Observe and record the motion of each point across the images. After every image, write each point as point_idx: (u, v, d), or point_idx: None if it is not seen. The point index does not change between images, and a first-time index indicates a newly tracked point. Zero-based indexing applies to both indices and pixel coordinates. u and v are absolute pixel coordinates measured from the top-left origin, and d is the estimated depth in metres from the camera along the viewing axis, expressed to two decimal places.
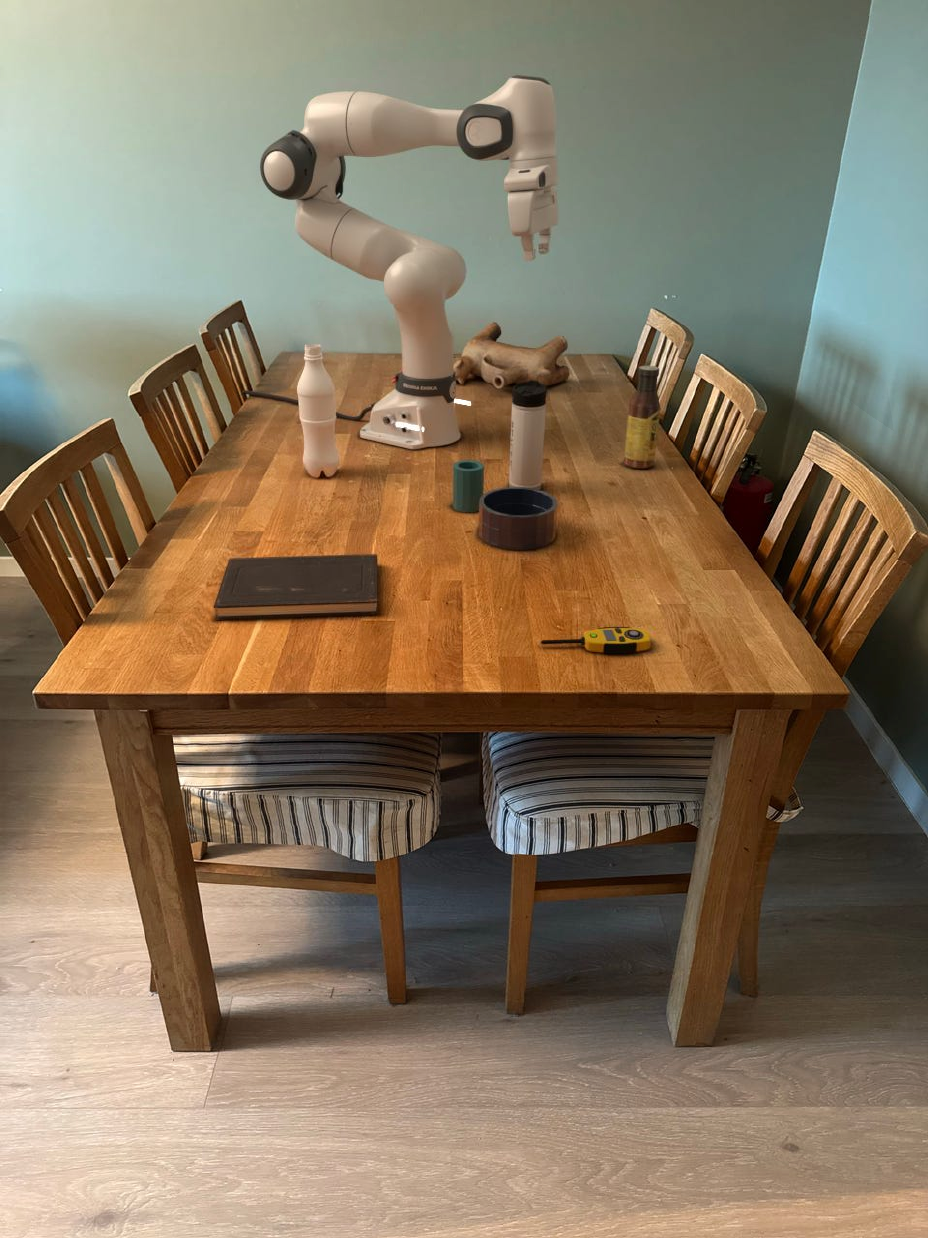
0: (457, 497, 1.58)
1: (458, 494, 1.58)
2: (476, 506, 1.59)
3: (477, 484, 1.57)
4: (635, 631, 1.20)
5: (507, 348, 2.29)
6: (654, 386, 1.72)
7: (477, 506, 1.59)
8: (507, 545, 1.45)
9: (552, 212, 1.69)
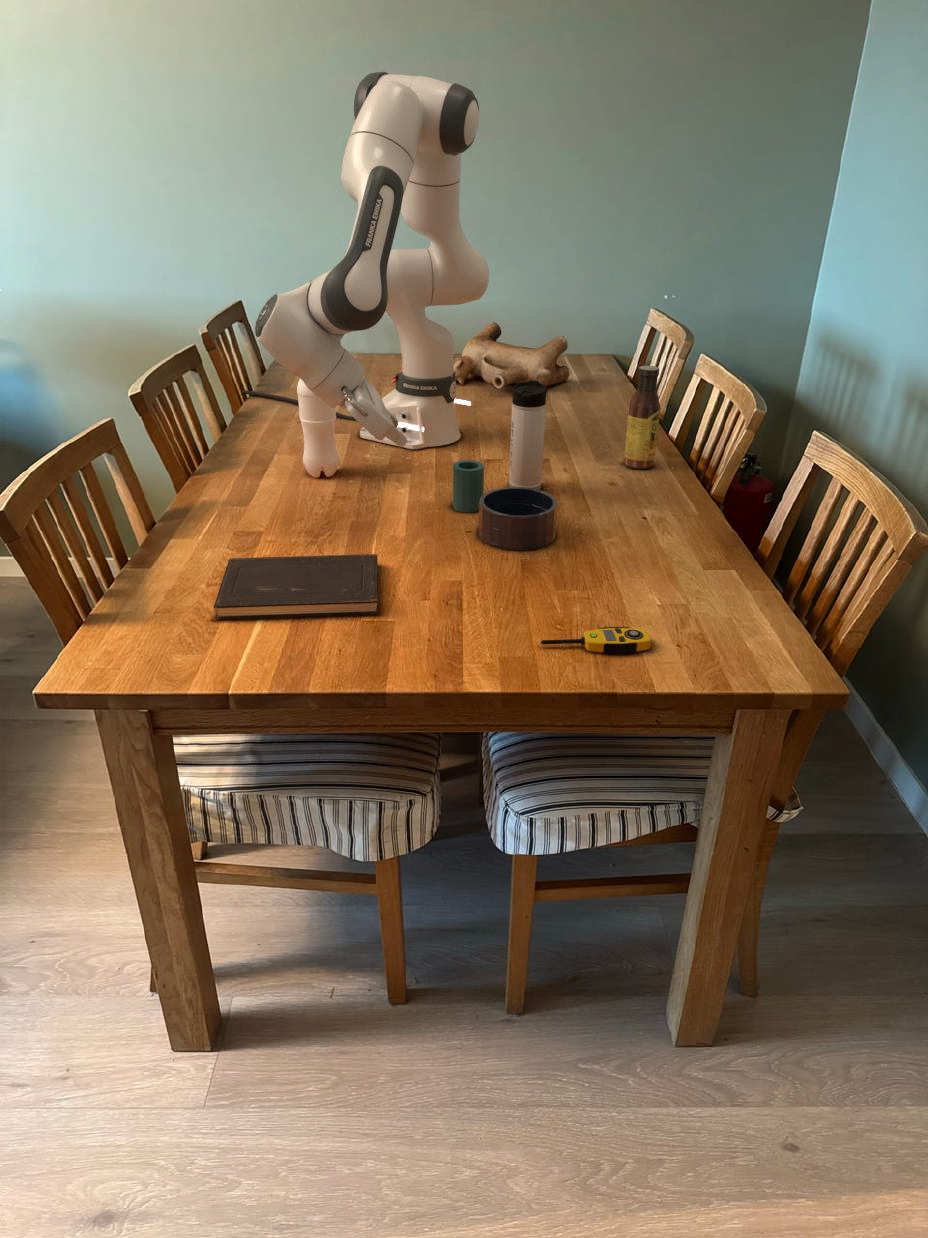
0: (457, 497, 1.58)
1: (458, 494, 1.58)
2: (476, 506, 1.59)
3: (477, 484, 1.57)
4: (635, 631, 1.20)
5: (507, 348, 2.29)
6: (654, 386, 1.72)
7: (477, 506, 1.59)
8: (507, 545, 1.45)
9: None
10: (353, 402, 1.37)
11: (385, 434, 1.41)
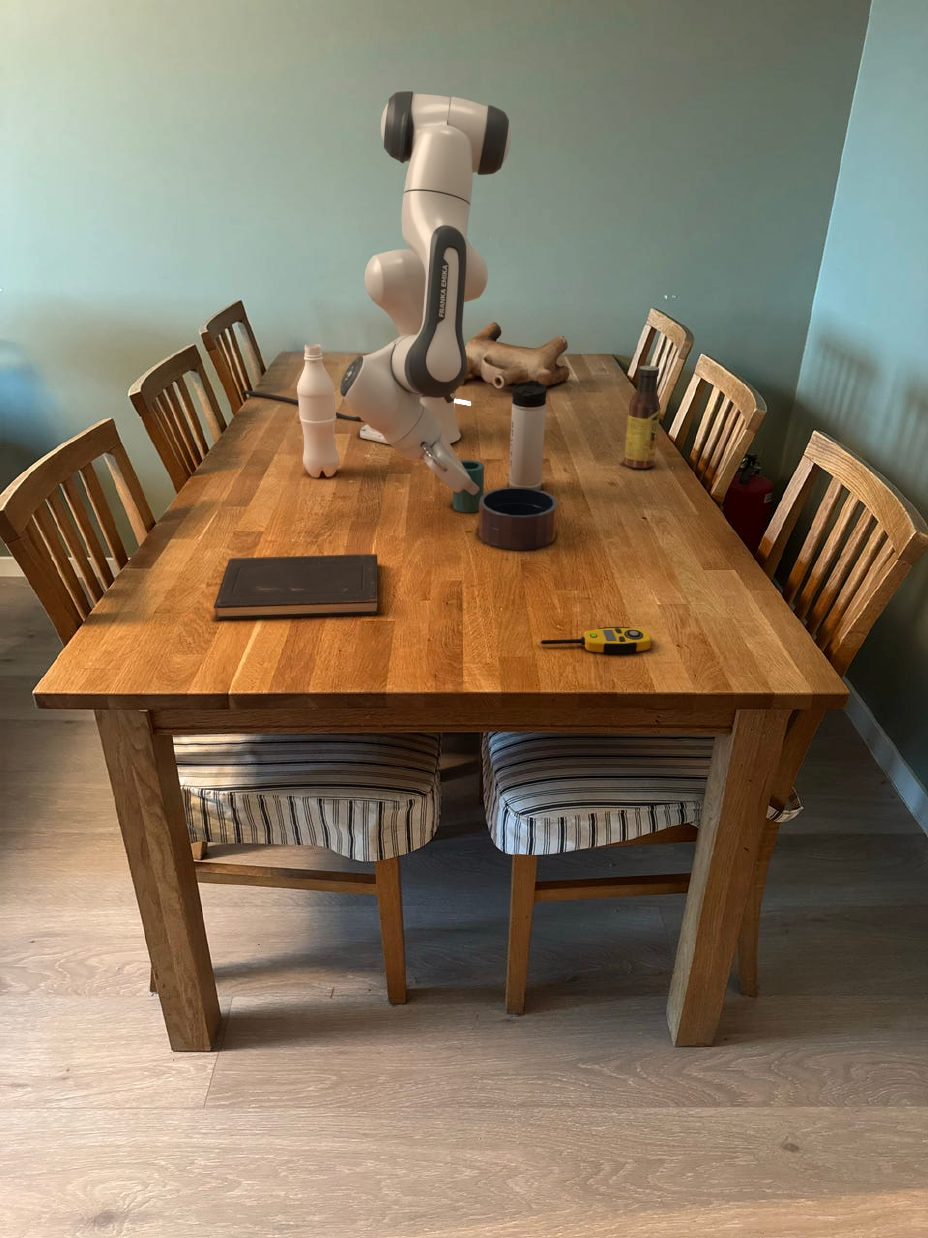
0: (457, 497, 1.58)
1: (458, 494, 1.58)
2: (476, 506, 1.59)
3: (477, 484, 1.57)
4: (635, 631, 1.20)
5: (507, 348, 2.29)
6: (654, 386, 1.72)
7: (477, 506, 1.59)
8: (507, 545, 1.45)
9: None
10: (434, 458, 1.45)
11: (462, 487, 1.49)
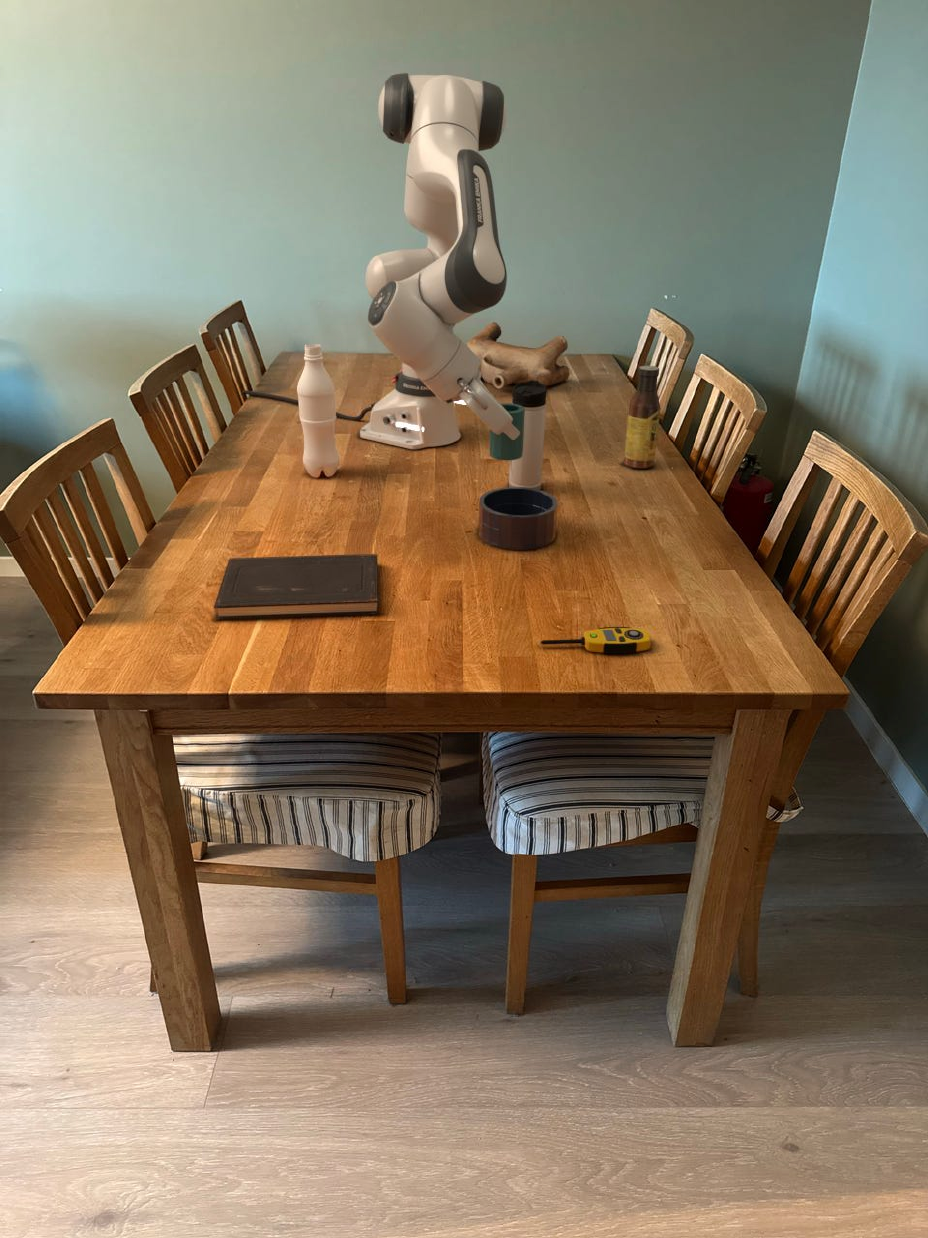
0: (495, 443, 1.44)
1: (496, 440, 1.44)
2: (516, 453, 1.45)
3: (517, 428, 1.43)
4: (635, 631, 1.20)
5: (507, 348, 2.29)
6: (654, 386, 1.72)
7: (517, 453, 1.45)
8: (507, 545, 1.45)
9: None
10: (474, 394, 1.30)
11: (504, 428, 1.34)
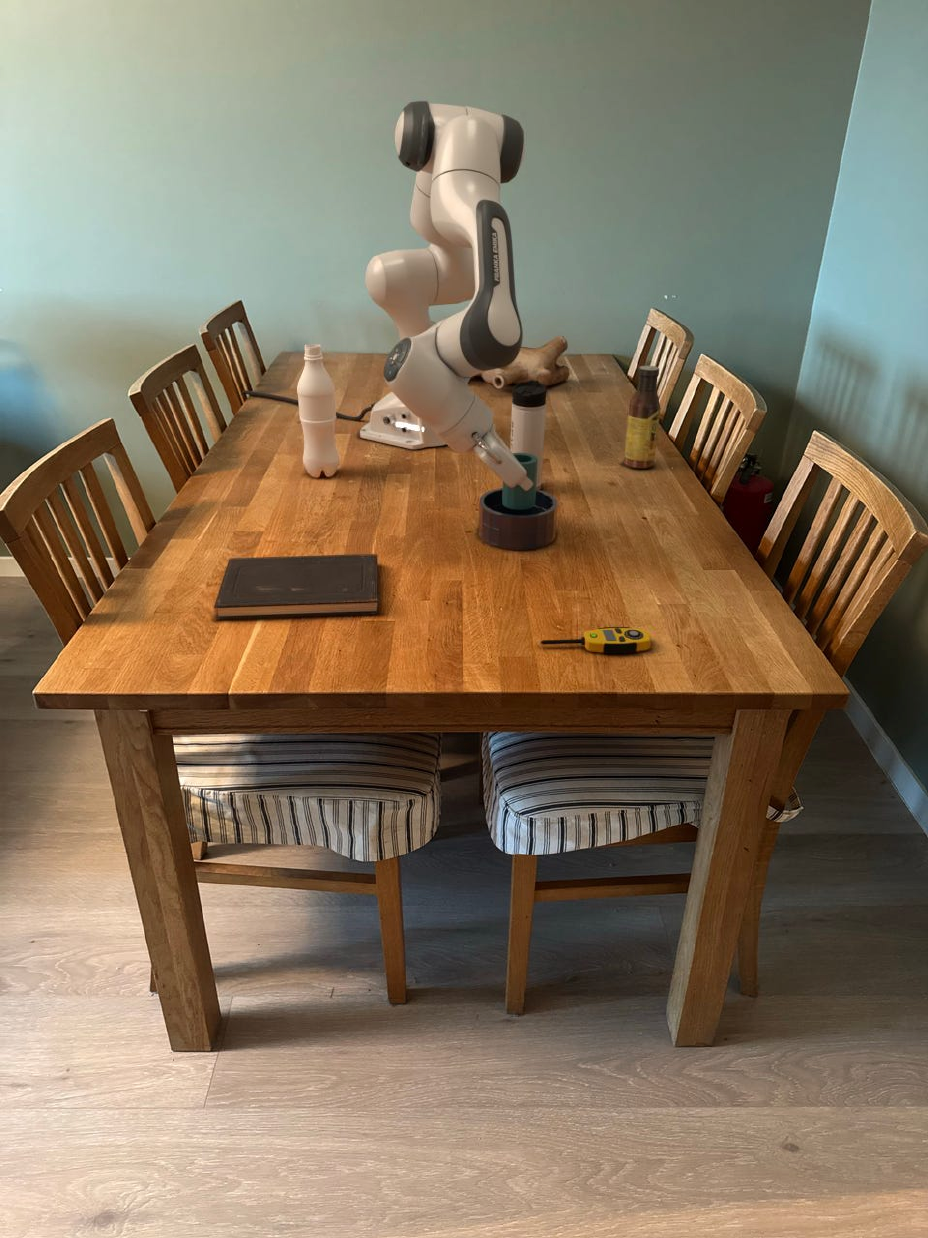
0: (508, 493, 1.45)
1: (509, 490, 1.45)
2: (529, 502, 1.46)
3: (530, 479, 1.44)
4: (635, 631, 1.20)
5: None
6: (654, 386, 1.72)
7: (529, 503, 1.46)
8: (507, 545, 1.45)
9: None
10: (488, 450, 1.32)
11: (517, 482, 1.36)
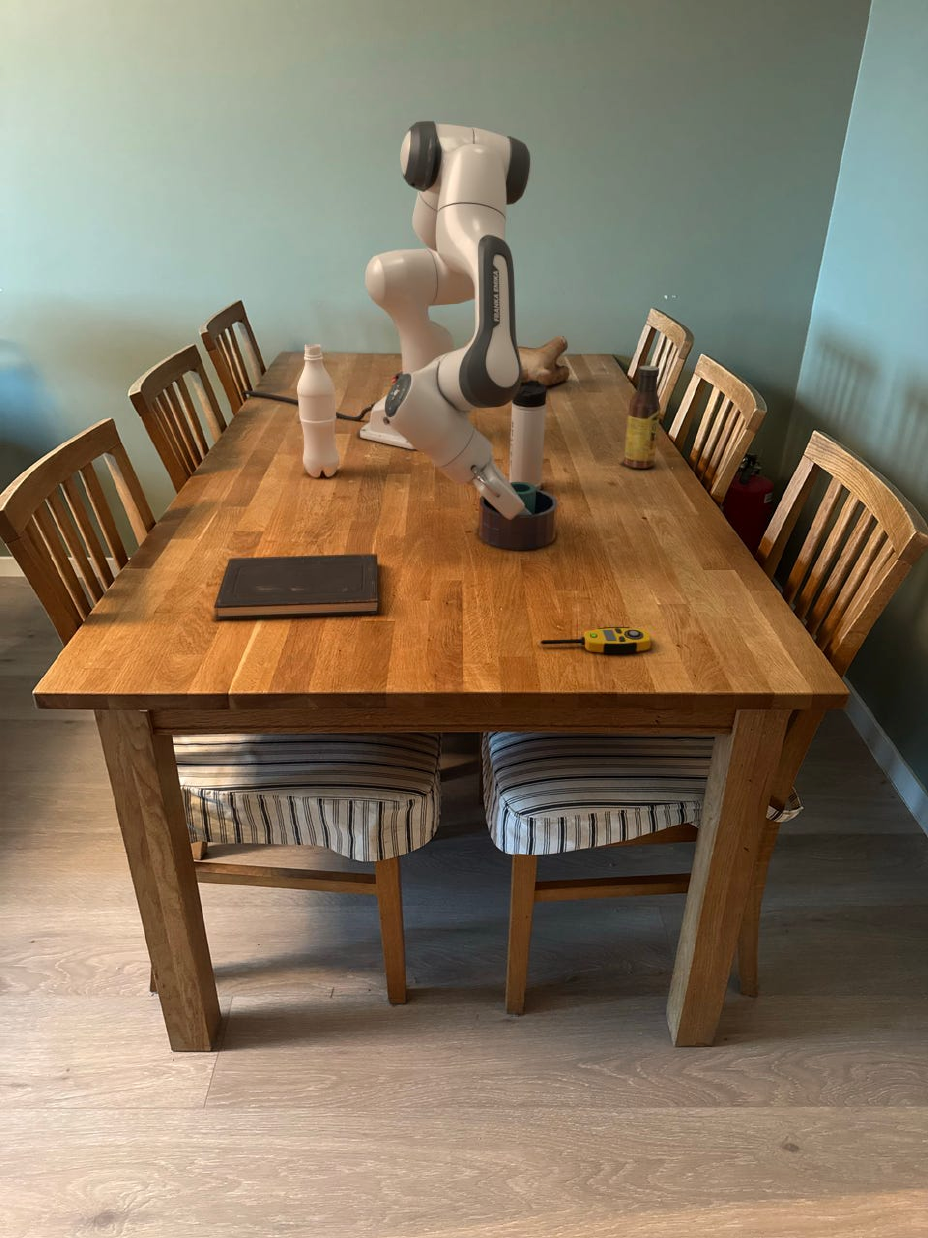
0: None
1: None
2: None
3: (529, 508, 1.46)
4: (635, 631, 1.20)
5: None
6: (654, 386, 1.72)
7: None
8: (507, 545, 1.45)
9: None
10: (487, 484, 1.34)
11: (516, 514, 1.38)
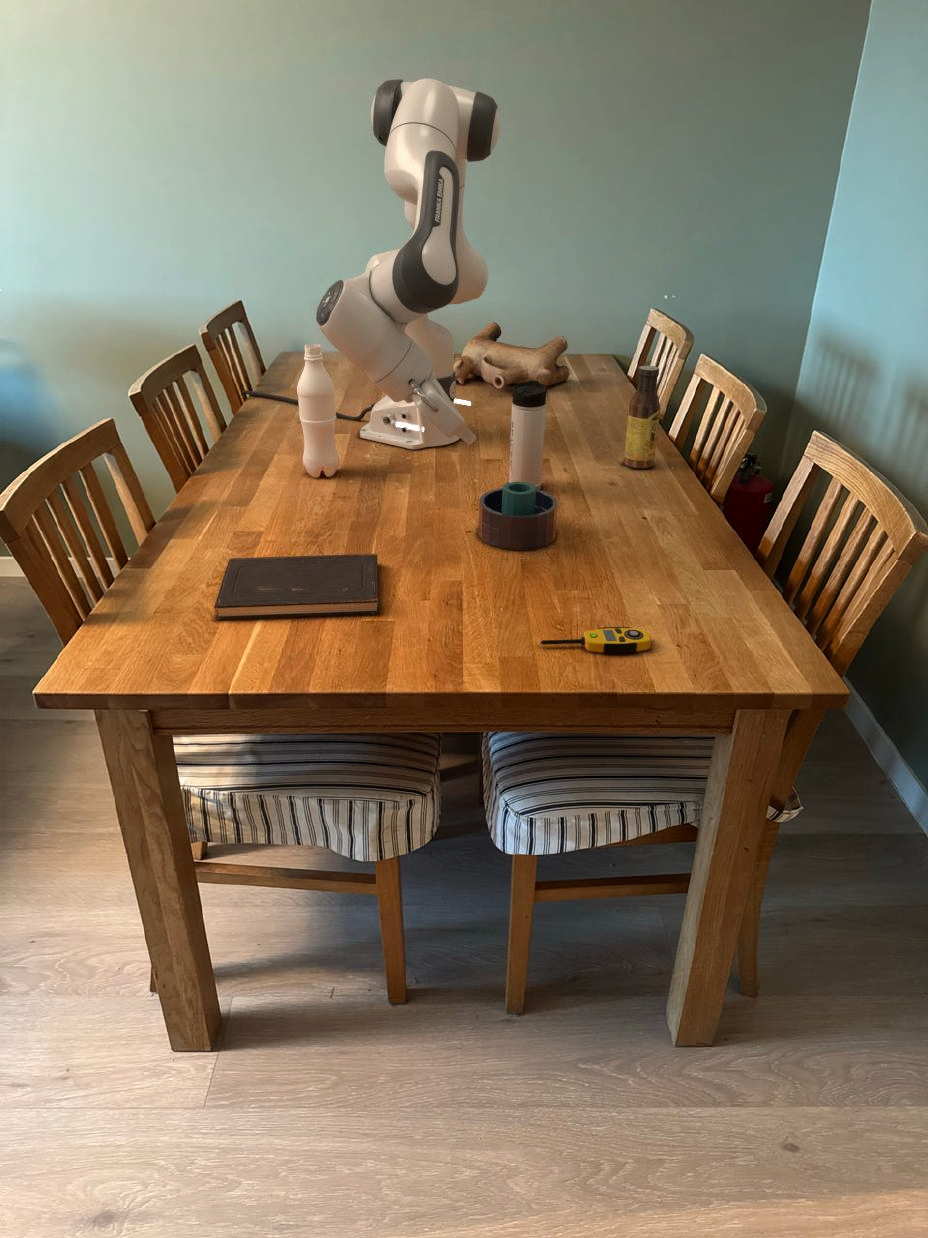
0: None
1: None
2: None
3: (529, 508, 1.46)
4: (635, 631, 1.20)
5: (507, 348, 2.29)
6: (654, 386, 1.72)
7: None
8: (507, 545, 1.45)
9: None
10: (423, 396, 1.27)
11: (455, 431, 1.31)
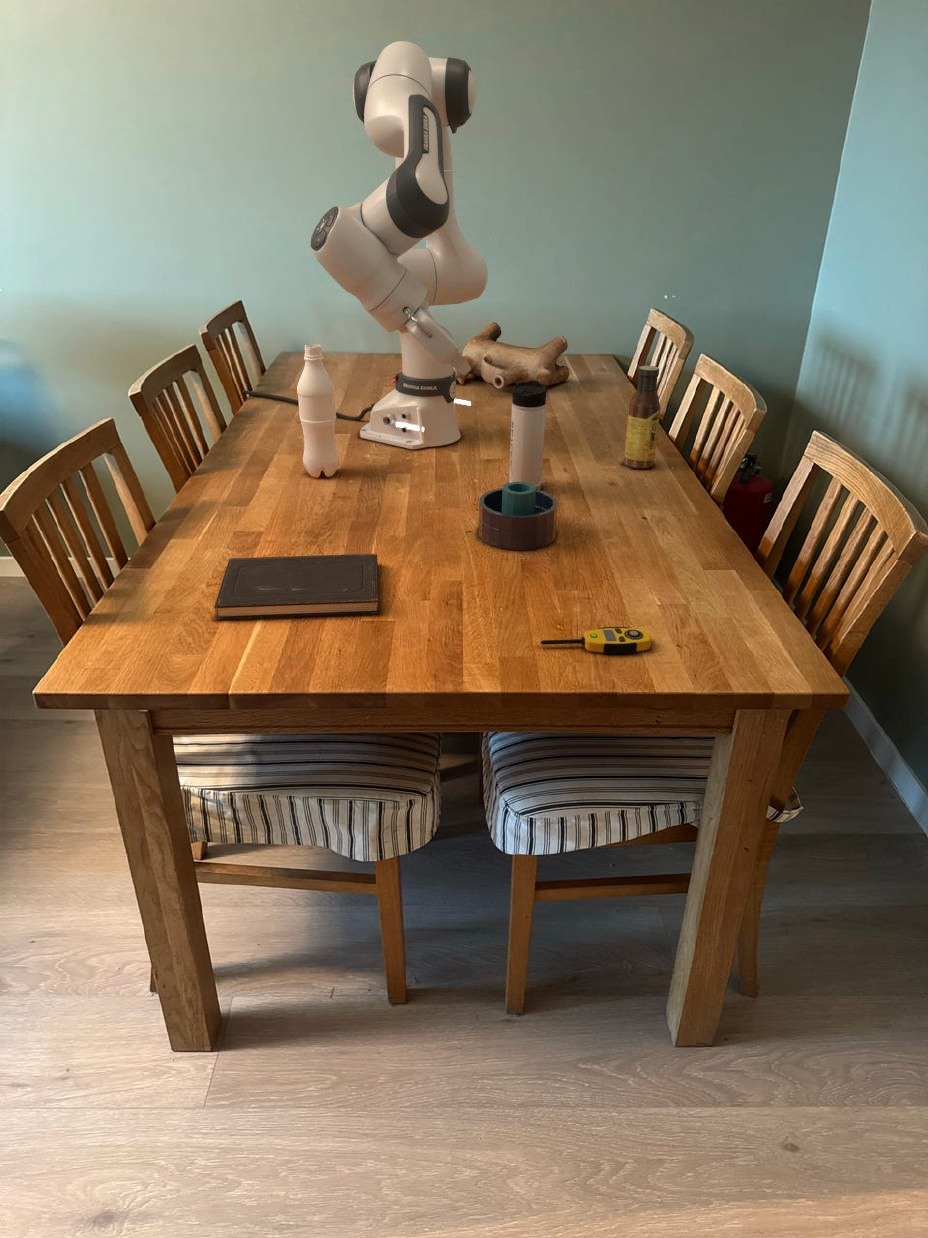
0: None
1: None
2: None
3: (529, 508, 1.46)
4: (635, 631, 1.20)
5: (507, 348, 2.29)
6: (654, 386, 1.72)
7: None
8: (507, 545, 1.45)
9: None
10: (418, 321, 1.28)
11: (450, 358, 1.32)
